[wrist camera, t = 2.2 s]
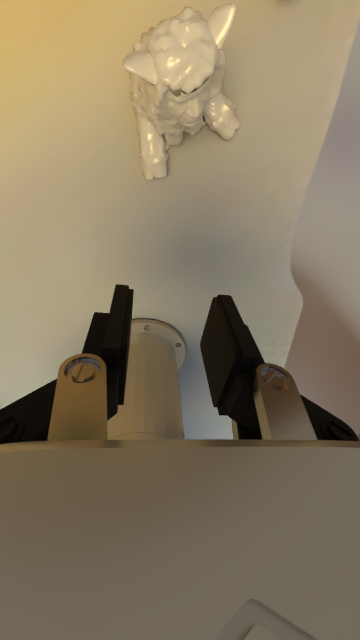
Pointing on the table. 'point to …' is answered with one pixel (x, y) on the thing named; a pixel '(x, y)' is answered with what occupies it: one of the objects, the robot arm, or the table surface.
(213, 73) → the white creature statuette
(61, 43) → the table surface
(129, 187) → the table surface
